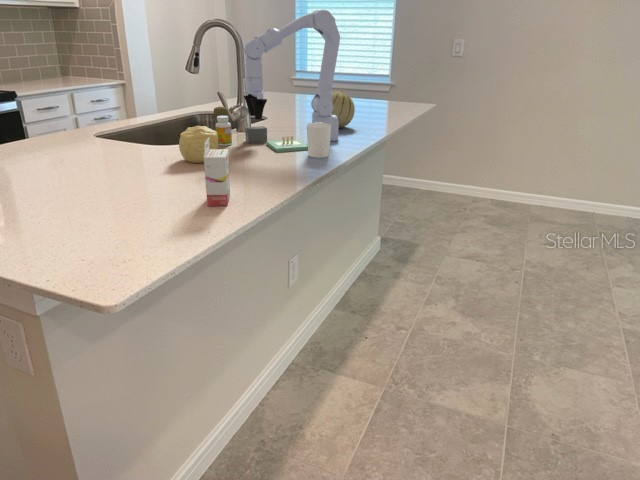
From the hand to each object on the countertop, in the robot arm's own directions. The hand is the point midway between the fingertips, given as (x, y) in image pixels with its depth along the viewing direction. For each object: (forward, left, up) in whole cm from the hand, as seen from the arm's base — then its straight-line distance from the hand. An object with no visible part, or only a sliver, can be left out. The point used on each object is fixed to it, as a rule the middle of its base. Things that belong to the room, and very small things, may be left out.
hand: (255, 117), depth 177 cm
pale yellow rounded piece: (+24, +21, -9) cm, 33 cm away
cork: (+10, -12, -9) cm, 18 cm away
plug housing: (0, 0, -9) cm, 9 cm away
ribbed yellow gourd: (-39, -16, -9) cm, 43 cm away
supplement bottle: (+12, +1, -9) cm, 15 cm away
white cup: (-14, +27, -9) cm, 31 cm away
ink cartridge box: (+26, +61, -9) cm, 67 cm away
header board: (-8, +12, -9) cm, 17 cm away
